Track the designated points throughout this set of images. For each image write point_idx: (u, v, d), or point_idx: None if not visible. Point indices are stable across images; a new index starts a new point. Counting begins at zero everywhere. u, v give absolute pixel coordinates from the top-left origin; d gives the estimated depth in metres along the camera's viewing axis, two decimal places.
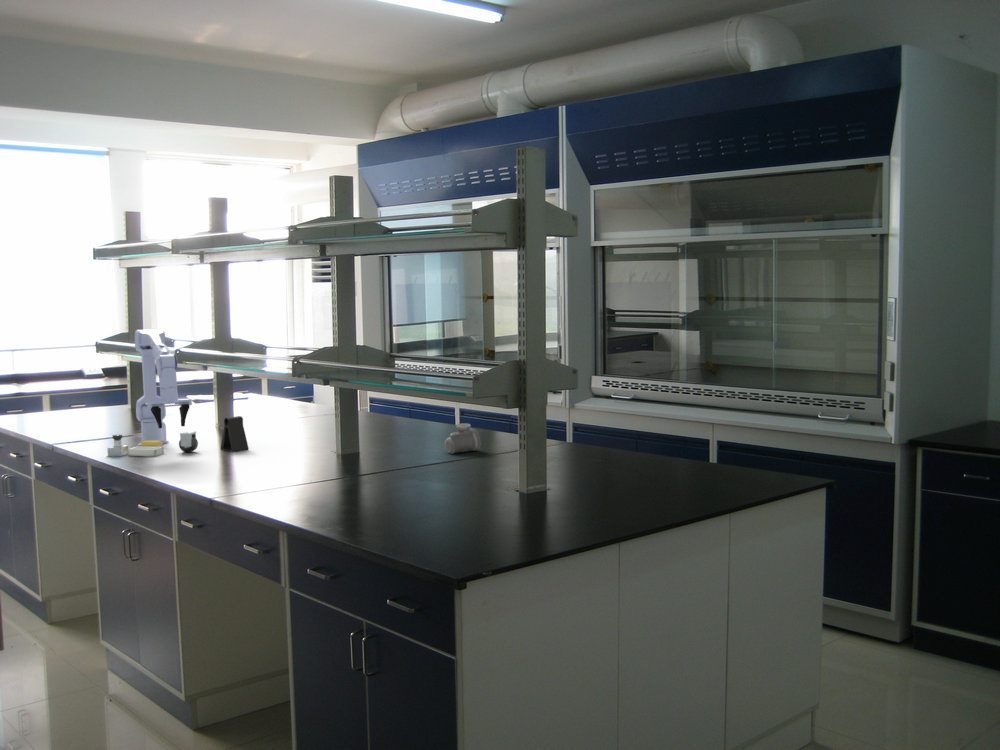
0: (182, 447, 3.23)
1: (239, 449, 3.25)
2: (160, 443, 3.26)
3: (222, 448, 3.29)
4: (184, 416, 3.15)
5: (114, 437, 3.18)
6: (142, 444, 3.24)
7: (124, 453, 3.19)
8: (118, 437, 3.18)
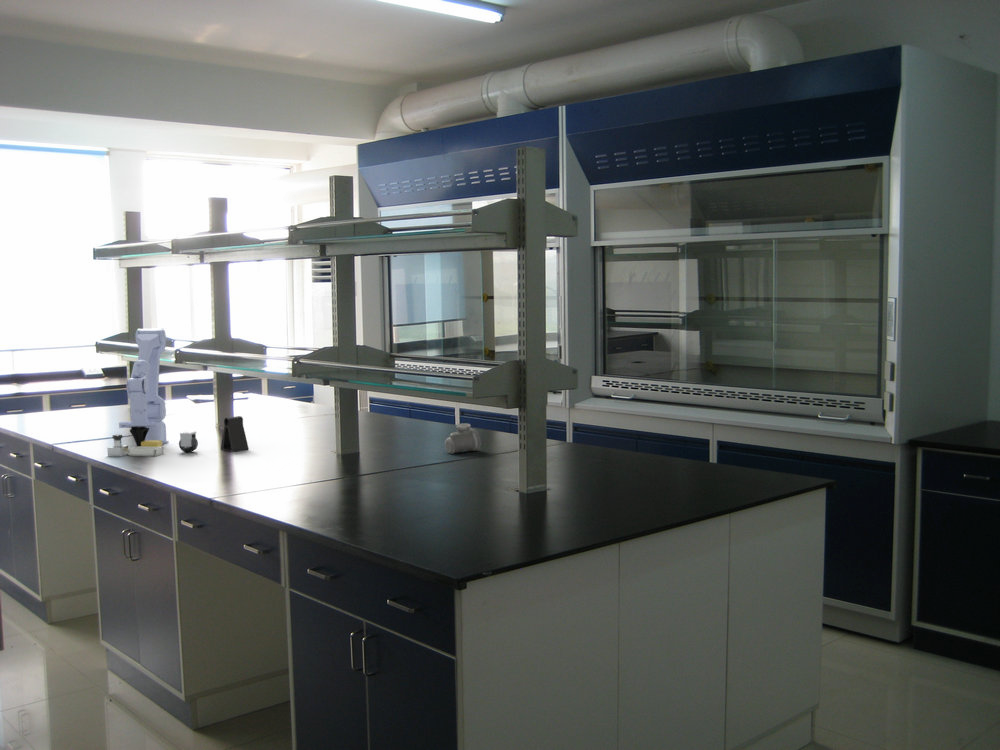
0: (182, 447, 3.23)
1: (239, 449, 3.25)
2: (160, 443, 3.26)
3: (222, 448, 3.29)
4: (139, 439, 3.24)
5: (114, 437, 3.18)
6: (142, 444, 3.24)
7: (124, 453, 3.19)
8: (118, 437, 3.18)
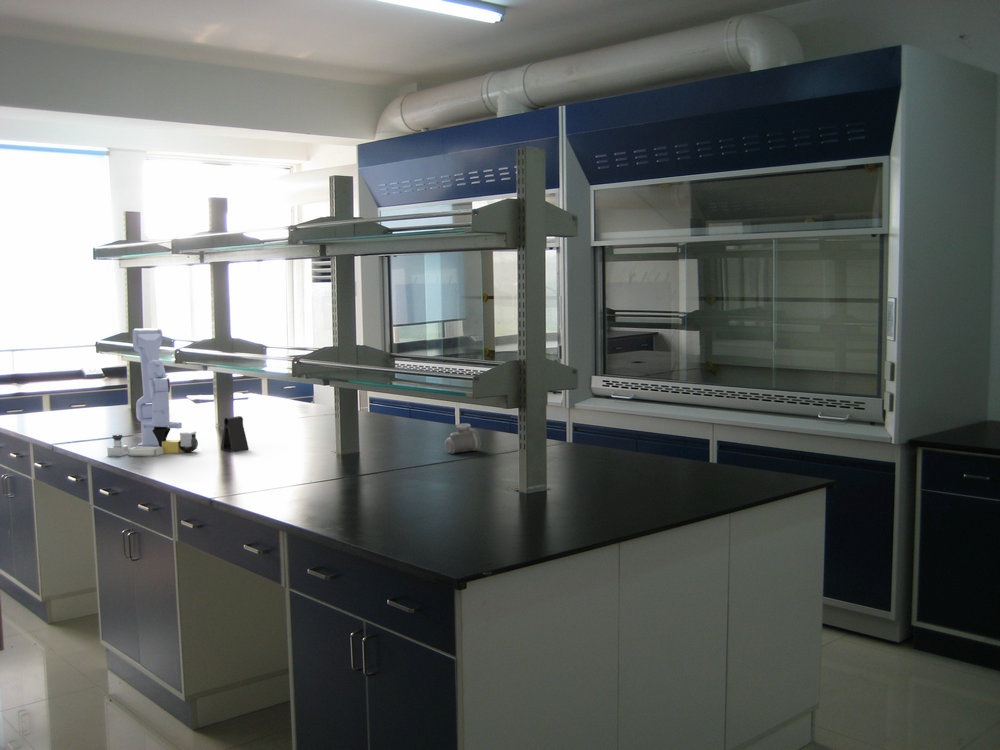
0: (182, 447, 3.23)
1: (239, 449, 3.25)
2: None
3: (222, 448, 3.29)
4: (160, 439, 3.23)
5: (114, 437, 3.18)
6: (163, 444, 3.23)
7: (124, 453, 3.19)
8: (118, 437, 3.18)
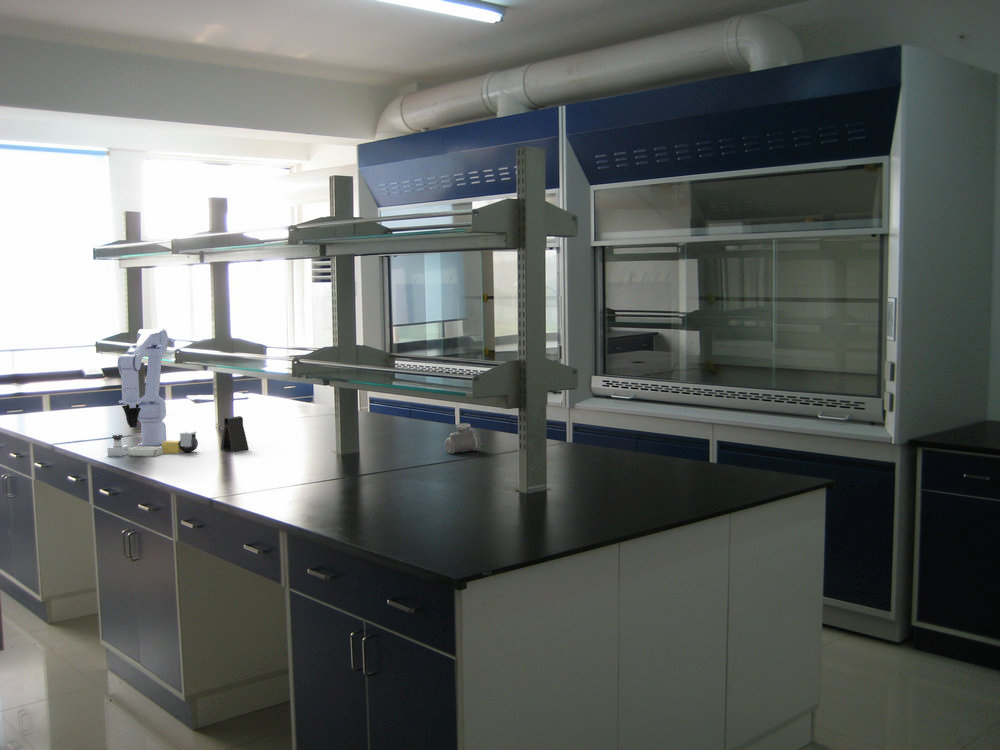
0: (182, 447, 3.23)
1: (239, 449, 3.25)
2: None
3: (222, 448, 3.29)
4: (127, 418, 3.17)
5: (114, 437, 3.18)
6: (163, 444, 3.23)
7: (124, 453, 3.19)
8: (118, 437, 3.18)
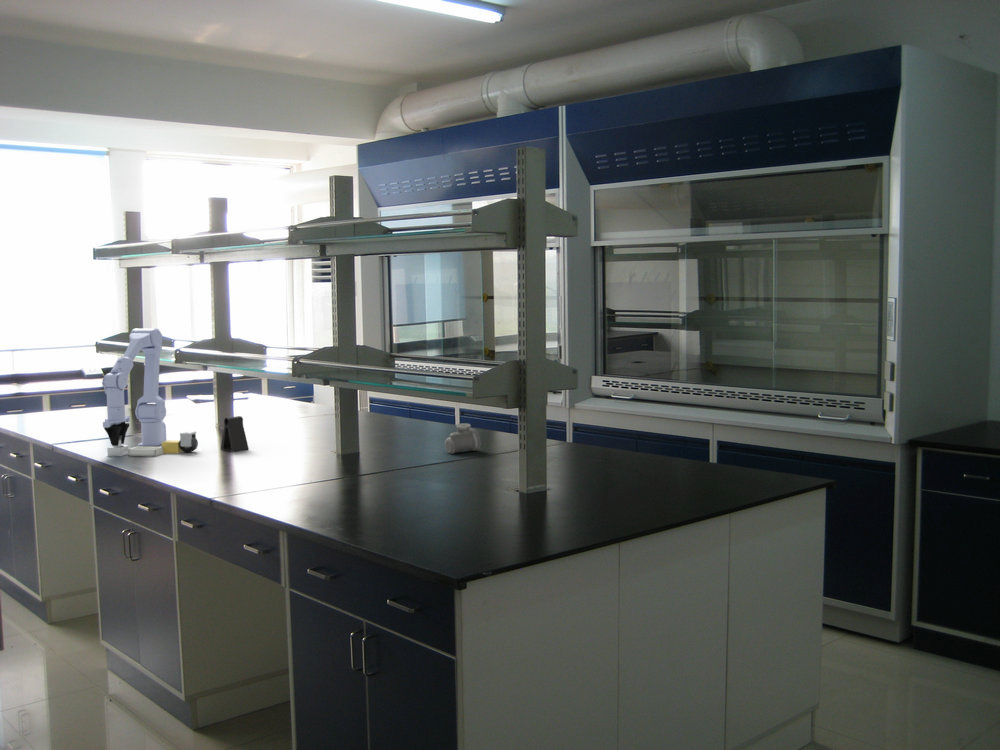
0: (182, 447, 3.23)
1: (239, 449, 3.25)
2: None
3: (222, 448, 3.29)
4: None
5: None
6: (163, 444, 3.23)
7: (124, 453, 3.19)
8: None
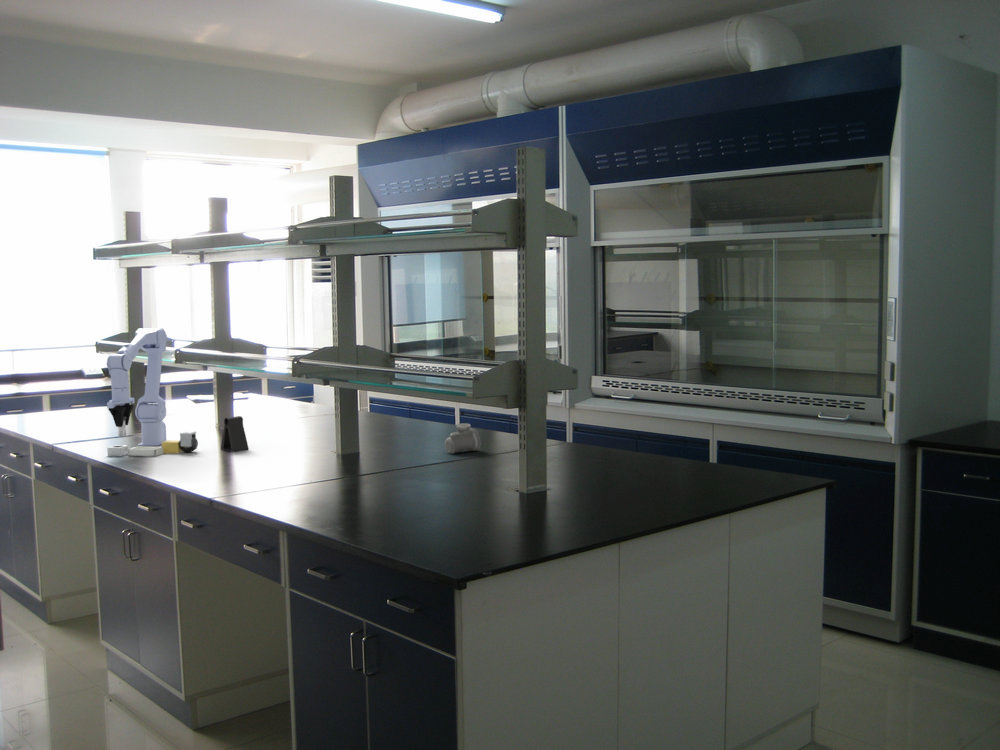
0: (182, 447, 3.23)
1: (239, 449, 3.25)
2: None
3: (222, 448, 3.29)
4: None
5: None
6: (163, 444, 3.23)
7: (124, 453, 3.19)
8: None
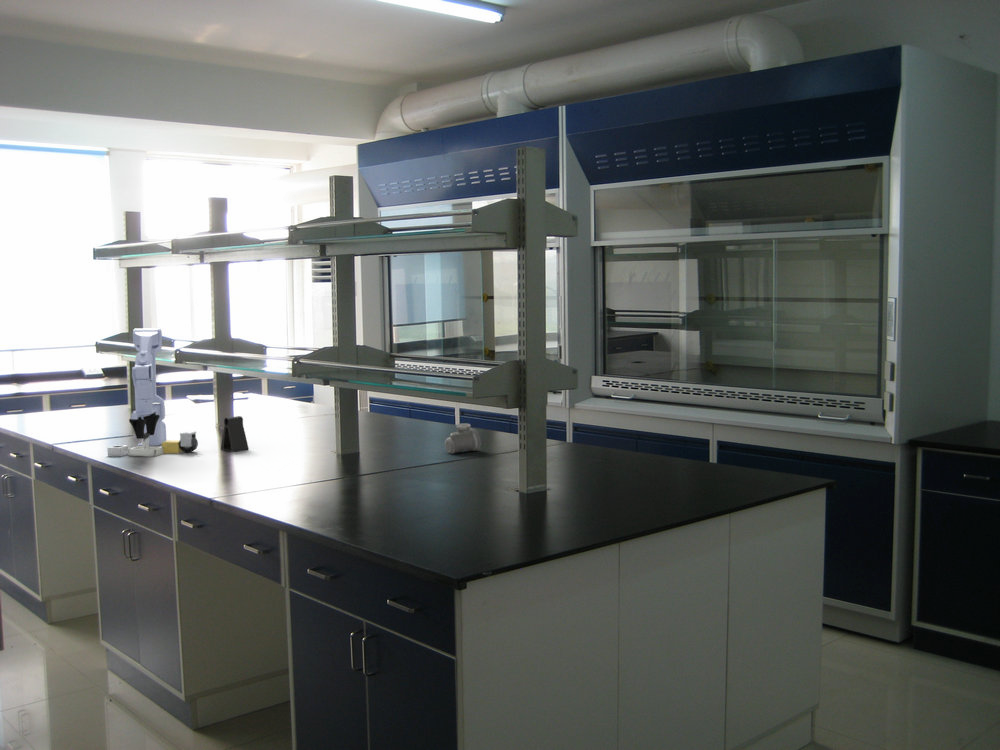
0: (182, 447, 3.23)
1: (239, 449, 3.25)
2: None
3: (222, 448, 3.29)
4: None
5: None
6: (163, 444, 3.23)
7: (124, 453, 3.19)
8: (146, 435, 3.18)
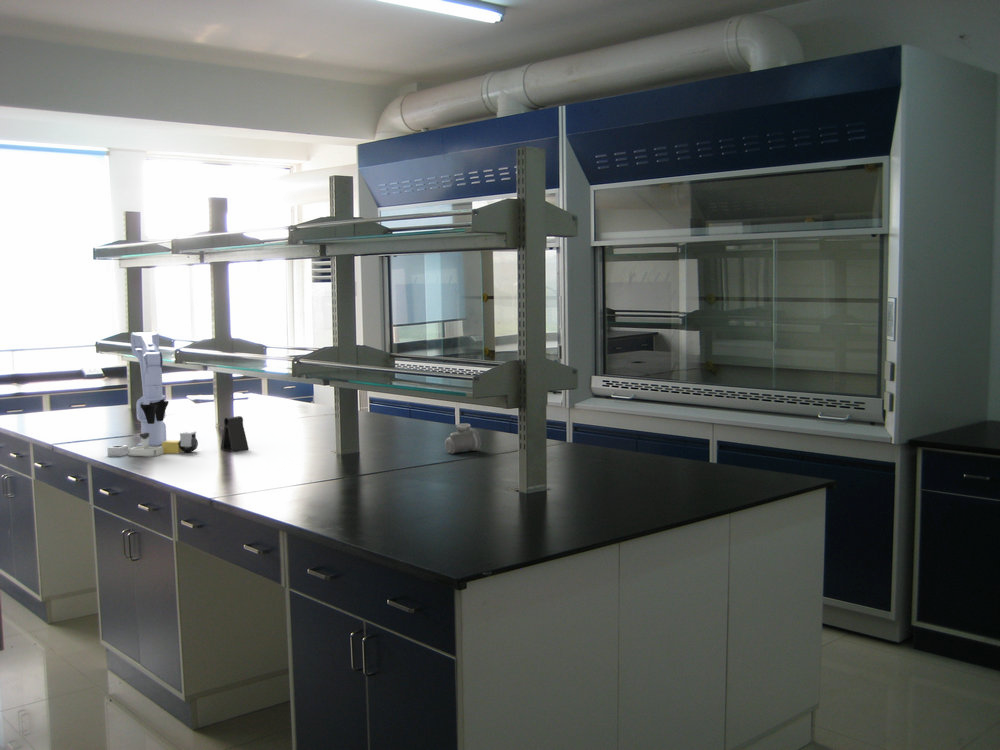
0: (182, 447, 3.23)
1: (239, 449, 3.25)
2: None
3: (222, 448, 3.29)
4: None
5: (141, 435, 3.17)
6: (163, 444, 3.23)
7: (124, 453, 3.19)
8: (145, 435, 3.18)
